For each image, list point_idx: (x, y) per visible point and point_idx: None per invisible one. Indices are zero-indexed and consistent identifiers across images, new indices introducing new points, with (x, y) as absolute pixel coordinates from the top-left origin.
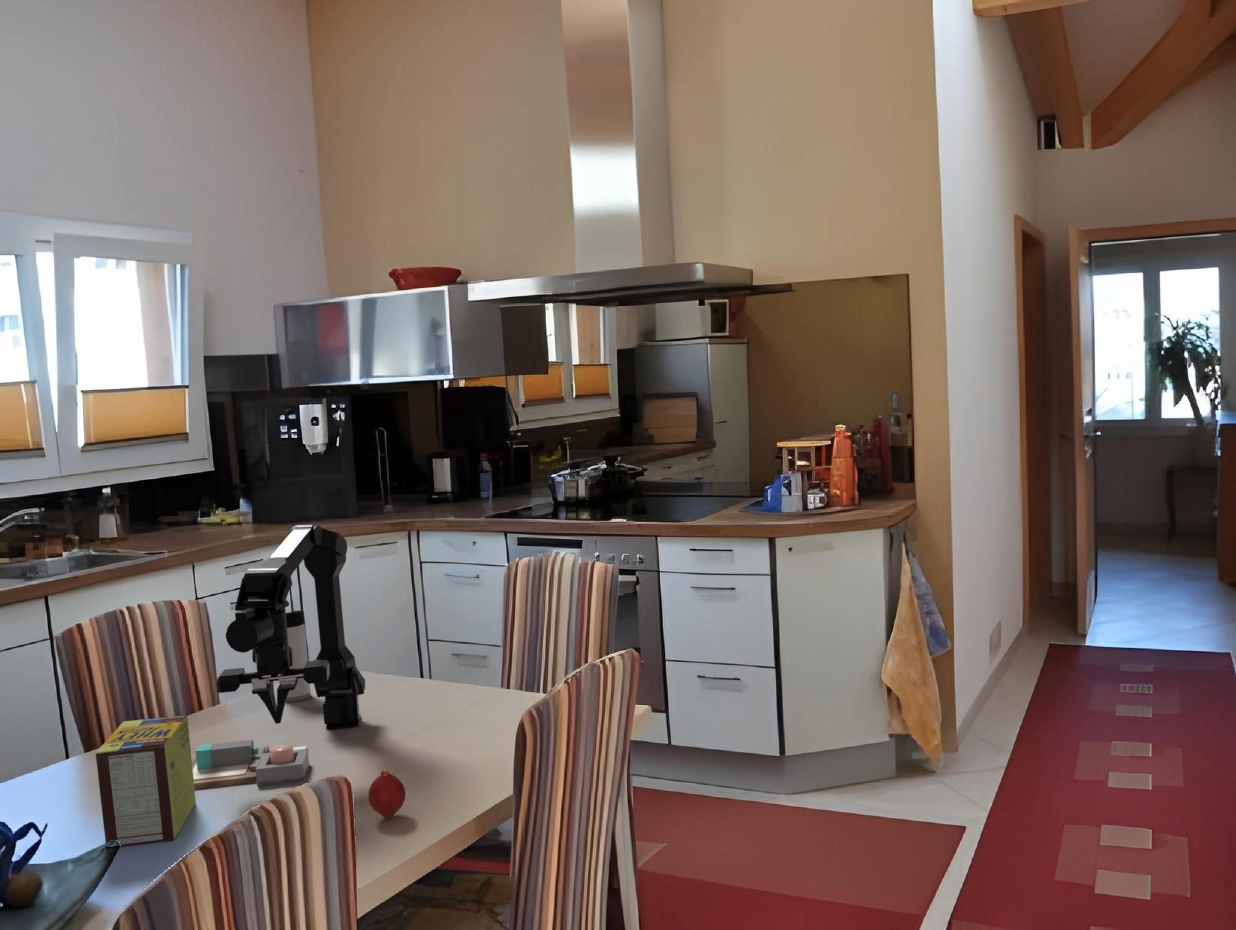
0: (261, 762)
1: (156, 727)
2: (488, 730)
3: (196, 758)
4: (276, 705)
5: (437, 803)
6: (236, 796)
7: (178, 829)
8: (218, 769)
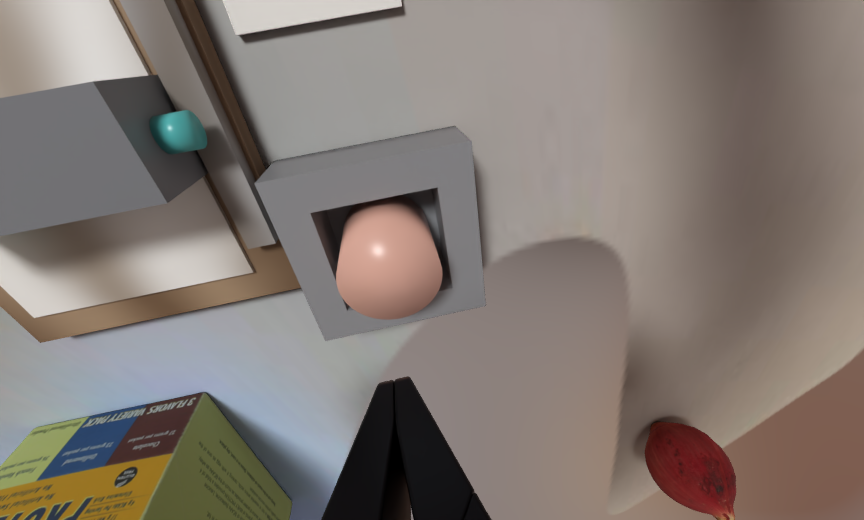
0: (314, 287)
1: None
2: None
3: None
4: (386, 499)
5: (746, 380)
6: (305, 359)
7: (279, 493)
8: (82, 222)
